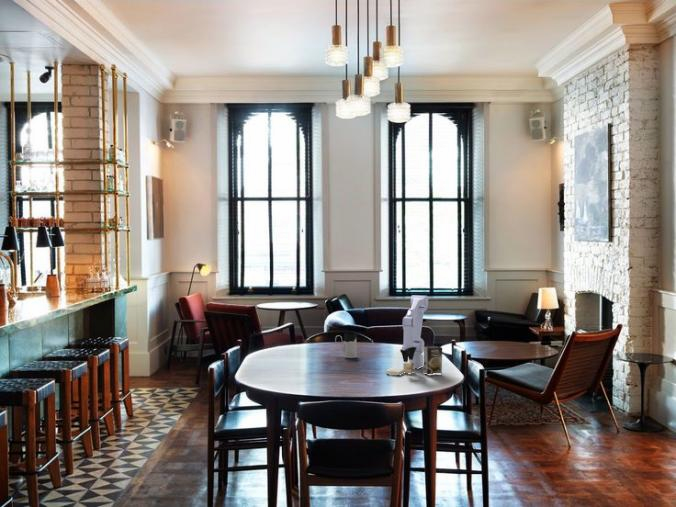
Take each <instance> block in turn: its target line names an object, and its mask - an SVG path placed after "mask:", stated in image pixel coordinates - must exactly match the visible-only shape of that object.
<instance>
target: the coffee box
mask: <svg viewBox="0 0 676 507" xmlns="http://www.w3.org/2000/svg"><path fill="white" fill-rule="evenodd" d="M422 369H423V371H422V372H424V373H427V374H433V373H442V374H443V347H441V346H438V345H431V346H429V345H427V346H424V352H423V368H422Z"/></svg>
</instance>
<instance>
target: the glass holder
mask: <svg viewBox="0 0 676 507" xmlns="http://www.w3.org/2000/svg"><path fill="white" fill-rule="evenodd" d="M337 337H340V338H341V342H342V343H344V344H343V345H344V346H343V347H344V348H343V349H342V348H340V346H339V345H338V343H337ZM334 340H335V344H336V345H335V346H337V348H338V349H339V350H341V351H342V353H343V357H344V358H346V359H347V358H349V359H350V358H351V359H353V358H357V357H358V355H357V333H356V332H345V333H344V341H343V337H342V336H341V335H336V336H335V339H334Z"/></svg>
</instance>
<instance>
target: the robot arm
mask: <svg viewBox="0 0 676 507" xmlns="http://www.w3.org/2000/svg"><path fill="white" fill-rule="evenodd" d="M410 305H411V307H410V308H409V309H408V310H407V313H406V314H405V316H404V317H403V318H402V330H403V344H402V346H401V348H400V350H399V351H400V353H401V356H402V360H403V363H406V362H411V363H414V368H419V367H421V366H424V347H425V341H424V339H423V338H422V337H421V335H422V327H423V322H424V321H423V320H424V313H425V312H426V311H428V306H429V297H428V296H427V295H417V294H415V295H413V294H412V295H411V296H410Z"/></svg>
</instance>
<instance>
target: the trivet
mask: <svg viewBox="0 0 676 507" xmlns="http://www.w3.org/2000/svg"><path fill="white" fill-rule="evenodd" d="M402 373H404V369H403V368H399V367H398V368H396V367H390V368H388V369H386V370H385V375H386V374H389V375H388V376H392V375H400V374H402ZM400 376H401V375H400Z"/></svg>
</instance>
